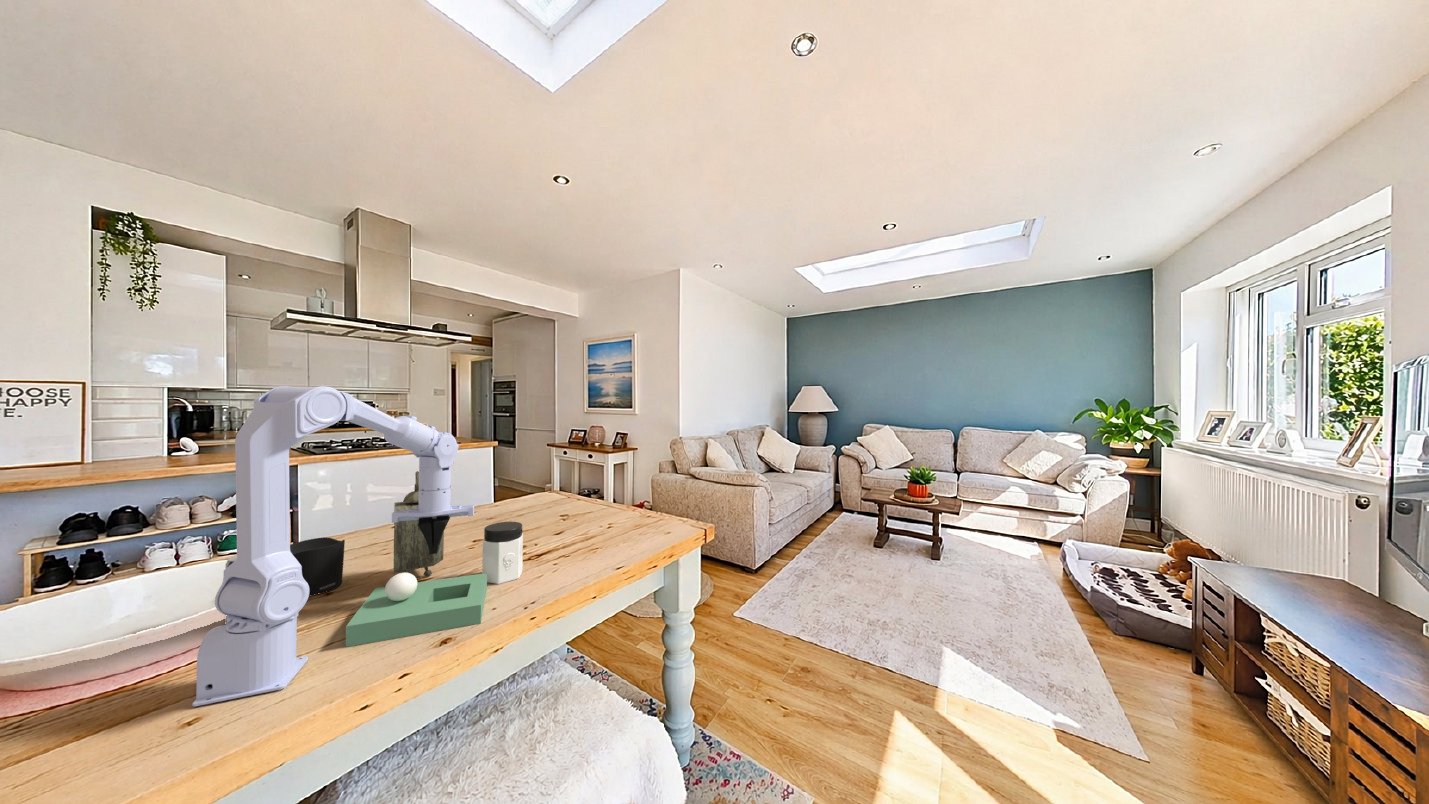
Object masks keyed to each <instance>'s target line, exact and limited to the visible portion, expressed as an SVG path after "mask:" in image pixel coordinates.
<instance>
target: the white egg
mask: <svg viewBox="0 0 1429 804" xmlns="http://www.w3.org/2000/svg"><path fill="white" fill-rule="evenodd" d="M417 582H418V580H417V577H416V576H415V575H414V574H413V573H411V574H410V573H407V572H405V573H399V572H398V573H397V574H395V575H394V576H392V577H390V578H389V579H388V581H387V582H386V584H385V586H384V587H385V593H386V596H387V597H388V598H389V599H391V600H393V601H402V600H405V599H407V598H409V597H410V596H411V595H412V594H413V593H414V592H415V590H416V588H417Z"/></svg>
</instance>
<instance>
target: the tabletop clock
mask: <svg viewBox="0 0 1429 804" xmlns="http://www.w3.org/2000/svg"><path fill="white" fill-rule="evenodd" d="M414 473H415V484H414V488H413V489H414V491H410V492H408V494H406V495H405V497H404V499H403V501H398V502H394V505H393V506H394V510H393V512H394V511H401V510H409V509H417V508H419V470H418V471H415V472H414ZM418 523H419V520H408V521H399V522H394V523H393V527H394V528H393V574H396V573H397V574H399V573H404V572H405V573H410V574H413V572H415V571H416V570H417V569H418V570H419V569H424V572H423V576H424V577H425V578H430V576H432V574H433V571H432V570H431V569H429V567H434V566H435V565H437V564H439V563H440V562H442V561H443V560H444V549H445V548H444V546H445V545H444V543H445V542H444V541H445V540H444V538H445V531H444V532H443V535H442V538H441V541H440V545H439V551H438V553H437V554H429V548H428V545H427V542H426V539H425V537H424V535H423V533H422V532H421V530H420V529H419V527H418Z"/></svg>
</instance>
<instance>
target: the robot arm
mask: <svg viewBox="0 0 1429 804" xmlns="http://www.w3.org/2000/svg"><path fill="white" fill-rule="evenodd" d="M417 420H418V417H416V416H414V415H400V416H397V417H394V416H391V415H389V414H387V413H386V412H383V411H381V410H379V409H378V408H375V407H373V406H371V405H369V404H368V403H365V402H363V401H361V400H359V399H358V398H356V397H354V395H353V396H352V395H351V394H350V393H347V392H343V391H339V390H337V389H336V388H333V387H331V386H321V385H320V386H290V385H280V386H276V387H273V388H271V389H269V390H267V391H266V392H264V393H262V394H261V395H259V396H257V397H255V398H254V399H253V409H252V411H251V413H249V415H248V416H247V418H246V420H245V422H244V423H243V424H242V426H241V427H240V428H239V430H238V432H237V434H236V436H235V440H234V441H235V442H234V444H235V445H234V446H235V449H234V451H235V455H234V456H235V511H236V513H235V514H236V515H235V516H236V519H235V520H236V523H235V524H236V555H237V560H236V561H235V562H233V563H232V564H231V565H230V566H228V567H227V568H226V567H225V569H224V570H223V579H222V583H221V585H220V586H219V588H218V590H217V592H216V595H215V598H214V605H215V608H216V610H217V611H218V612H219V613H220V614H222V615H224V616H225V615H227V616H226V625H225V624H224V625H217V626H216V627H213V628H211V629H210V630H209V631H208V632H207V633H206V634H205V636H203V638H202V641H201V642H200V644H199V647H198V651H197V656H196V658H197V659H196V694H195V696H196V699H195V700H194V701H193V702H192V707H198V706H203V705H209V704H213V703H218V702H223V701H229V700H235V699H238V698H239V699H240V698H244V697H249V696H254V695H260V694H264V693H270V692H274V691H280V690H283V689H285V688H286V687H287V686H288V685H289V684H290V683H291V681H292V680H293V679H294V677H295V676H296V675H297V674H298V672H299V671H300V670H301V669H302V668H303V666H304V665H305V664H306V663H307V661H309V656H307V655H306V656H301V657H297V643H298V642H297V641H298V640H297V637H298V636H297V635H298V633H297V631H298V629H297V628H298V617H299V612H300V611H301V610H302V609H303V608H304V607H305V605H306V603H307V601H308V600H309V597H310V596H309V585H308V583H307V582H306V581H305V580H304V578H303V576H302V566H301V565H300V563H299V562H298V561H297V559H296V558H295V557H294V556H293V554H292V553H291V552H290V545H291V528H290V527H291V523H290V522H291V520H290V519H291V516H290V515H291V513H290V511H291V510H290V509H291V508H290V507H291V505H290V504H291V502H290V497H291V496H290V448H292V447H293V446H294V445H296V444H297V443H299V442H300V441H302V439H304V438H306V437H307V436H308V435H311V434H314V433H316V432H318V431H320V430H323V429H326V428H329V427H330V426H333V425H335V424H336V423H338V422H339V421H340V422H341V421H342V422H348V423H352V424H354V425H358V426H361V427H364V428H367V429H369V430H372V431H374V432H379V433H381V434H383V437H384V440H385V441H386V442H387V443H389V444H390V445H394V446H396V447H399V448H401V449H404V450H407V451H409V452H412V454H413V455H414V456H415V457H416V458H417V459H418V458H419V459H418V460H419V461H418V472H419V508H417V509H409V510H401V511H394V510H393V512H392V513H391V523H392V524H394V522H399V521H408V520H419V523H418V527H419V529H420V530H421V532H422V533H423V535H424V537H425V539H426V542H427V545H428V548H429V554H437V553H438V551H439V545H440V541H441V538H442V535H443V532H444V533H445V529H446V528H447V525H448V522H449V521H450V520H451V518H455V517H466V516H467V517H474V516H475V505H474V504H472V505H471V504H469V505H451V502H452V501H451V500H452V499H451V498H452V496H451V493H452V492H451V491H452V467H453V464H454V462H455V461H454V458H455V456H456V454H457V453H458V451H459V447H460V444H459V443H458V441H457V440H456V437H454V435H453V434H452V433H449V432H446V431H445V432H442V431H438V430H437V428H436V427H435V426H433V425H426V424H424V423H421V422H420V421H417Z"/></svg>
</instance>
